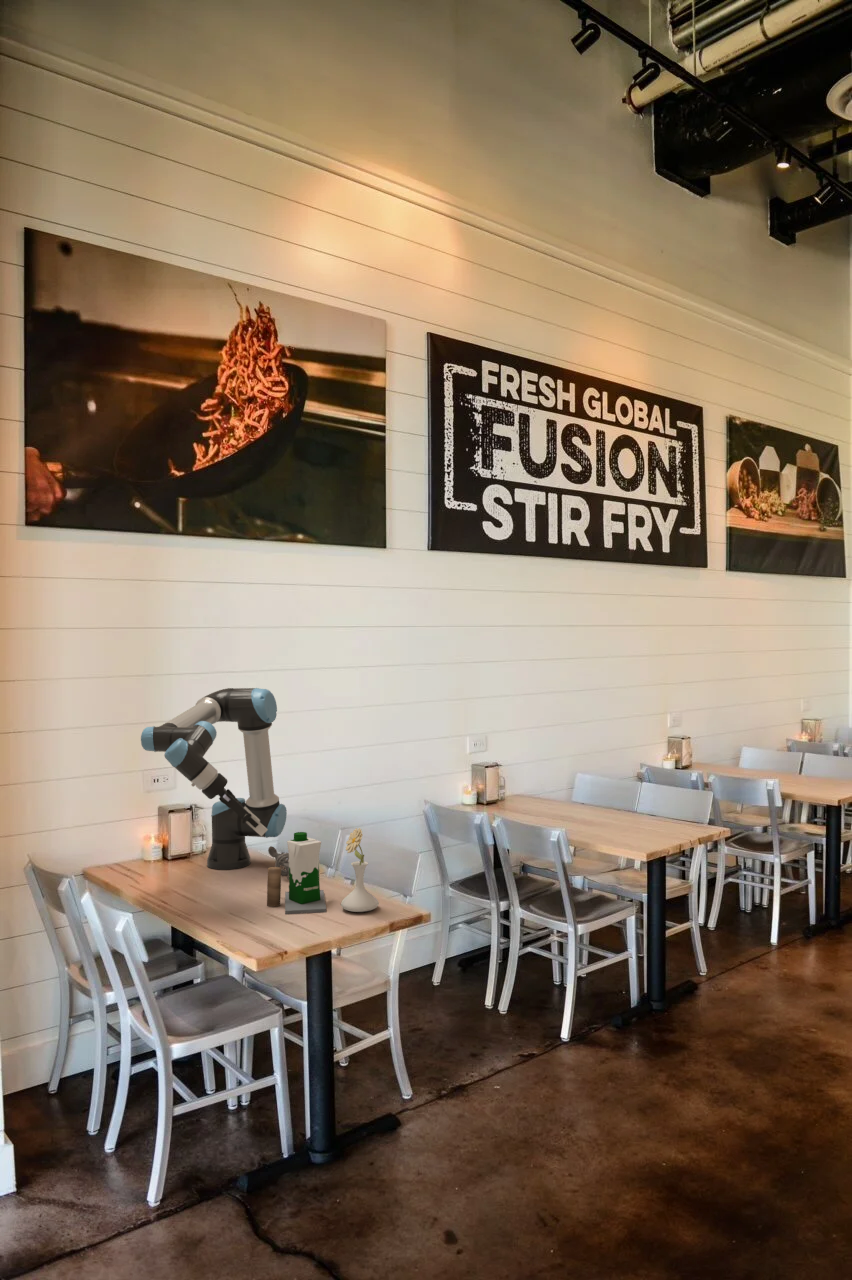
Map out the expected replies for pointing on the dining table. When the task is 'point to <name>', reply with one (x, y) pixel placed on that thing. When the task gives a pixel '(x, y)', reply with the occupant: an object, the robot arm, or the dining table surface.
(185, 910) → the dining table surface
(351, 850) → the flower in vase
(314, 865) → the soya milk
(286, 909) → the slate mat
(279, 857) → the spaceship
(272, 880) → the wooden pepper mill
